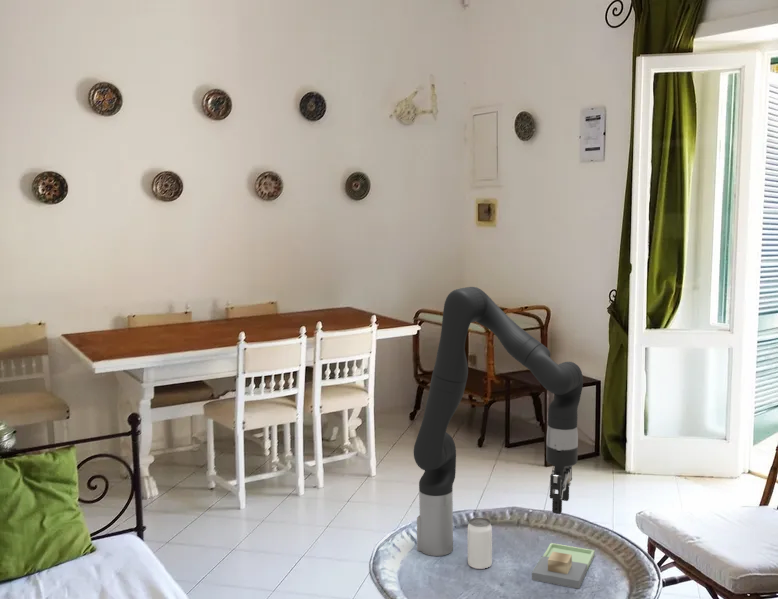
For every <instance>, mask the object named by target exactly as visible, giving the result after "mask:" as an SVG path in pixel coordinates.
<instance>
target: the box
mask: <svg viewBox="0 0 778 599" xmlns="http://www.w3.org/2000/svg"><path fill="white" fill-rule="evenodd" d="M595 551H596V550H595V549H591V548H590V549H589V548H584V547H578V546H577V547H576V546H572V545H565V544H560V543H553V542H550V544H549V545H548V547H547V548H546V550H545V552H544V553H543V556H544V557H550V555H551V554H552V552H558V553H564V554H570V555H572V561H573V562H578V563H584V564H587V571H588V570H589V568H590V566H591V564H592V562H593V560H594V557H595Z"/></svg>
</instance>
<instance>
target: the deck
mask: <svg viewBox="0 0 778 599" xmlns="http://www.w3.org/2000/svg"><path fill="white" fill-rule="evenodd" d="M548 559H549V557H544V556H541V557H540V558H539V560H538V562H537V563H536V565H535V566H534V568H533V570H532V572H531V580H532V579H533V580H532V581H535V582H541V581H542V583H546V582H547V583H548V584H552V583H553V584H552V585H559V586H563V587H567V588H574V589H580V587H581V586H582V583H583V582H584V578H585V576H586V575H587V572H588V570H587V564H584V563H578V562H573V561H572V566H571V568H570V570H569V572H568V574H563V573H558V572H553V571H548Z"/></svg>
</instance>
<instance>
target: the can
mask: <svg viewBox="0 0 778 599" xmlns="http://www.w3.org/2000/svg"><path fill="white" fill-rule="evenodd" d="M466 539H467V541H466V542H467V564H468V566H469V567H470V568H472V569H474V568H475V570H486V569H485V568H487V569H489V568H491V566H492V564H493V527H492V525H491V520H490V519H488V518H486V517H479V516H478V517H473V518H470V519H469V520H468V525H467V538H466ZM488 567H489V568H488Z"/></svg>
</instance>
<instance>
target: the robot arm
mask: <svg viewBox="0 0 778 599" xmlns="http://www.w3.org/2000/svg"><path fill="white" fill-rule="evenodd" d="M475 322H476V323H478V324H480V325H482V326H484V327H485V328H486V329H488V330H490V332H492V333H493V335H495V337H496V338H498V340H499V342H500V343H501V345H502V346H503V348H504V349H505V351H506V352H507V353H508V354H509V355H510V356H511V357H512V358H514V359H515V360H516V361H517V362H519V363H520V364H521V365H522V366H523V367H525V368H526V369H528V370H529V371H530V372H531V374H532V375H533V376H534V377H535V378H536V380H537V381H538V382H539V384H540V385H541V386H542V387H543V388H545V389H546V390H547V391H548V392H549V393H552V394H554V397H553V398H554V399H553V400H552V401H551V402H550V404H549V405H548V412H547V414H548V415H547V431H546V452H545V454H546V457H545V460H546V462H547V463H548V464H550V465H552V466H553V469H552V470H551V474H550V475H549V476H550V482H549V487H550V488H549V499H551V500H552V502H551V503H552V504H551V506H552V507H551V508H552V509H551V510H552V511H551V512H552V513H553V514H558V515H560V514H562V511H563V501H565V502H568V501H569V500H570V486H571V484H572V480H573V466H575V465H577V463H578V452H579V451H578V450H579V449H578V447H579V446H578V445H579V431H578V407H579V404H580V402H581V401H580V400H581V395H582V391H583V386H584V385H583V384H584V376H583V372H582V370H581V368H580V366H579V365H578V364H576V362H572V361H564V362H561V363H556V362H555V361H554V360H553V359H552V358H551V355H552V354H551V351H550V348H548V347H546V345H544V344H543V343H542V342H541V341H539V340H538V339H537V338H535V337H533V336H532V335H531V334H529V332H527V331H526V330H524V329H523V328H522V327H520V325H518V324H517V323H516V322H515V321H514V320H512V319H511V318H510V317H509V316H508V314H507V313H505V312H504V311H503V309H501V308H500V307H499V306H498V304H496V303H495V301H494V300H493V299H492V298H491V297H490V296H489V295H488V294H487V293H486V292H485V291H483V289H481V288H479V287H477V286H476V287H475V286H467V287H462V288H461V287H459V288H457V289H454V290H452V291H451V292H450V293H448V295H447V296H446V298H445V301H444V304H443V311H442V321H441V329H440V330H441V332H440V338H439V343H438V347H437V352H436V356H435V357H436V358H435V363H434V367H433V370H432V374H431V379H430V380H431V381H430V384H429V391H428V393H427V394H428V395H427V398H426V404H425V409H424V413H423V418H422V420H421V423H420V427H419V430H418V433H417V436H416V438H415V439H416V440H415V443H414V446H413V459H414V461H415V463H416V465H417V467H418V468H420V469H421V470H422V471H424V472H423V474H422V475H421V478H420V479H419V482H418V495H419V496H418V497H419V499H418V500H419V501H418V503H419V508H418V509H419V510H418V511H419V515H418V516H417V517H416V544H417V545H416V546H417V547H416V548H417V549H416V551H418V552H419V551H420V552H421V553H423V554H425V555H427V556H432V557H433V556H434V557H441V556H445V555H446V556H447V555H448V554H451V553H452V552H453V551H454V513H453V512H454V511H453V509H454V507H453V506H454V504H453V503H454V501H453V496H454V495H453V494H454V493H453V490H454V489H453V487H454V486H453V485H454V482H455V479H456V473H457V472H456V471H457V470H456V468H457V449H456V443H455V441H454V439H453V437H452V435H450V434H449V433H448V432H447V429H448V426H449V423H450V421H451V420H452V419H453V418H452V417H453V416H454V414H455V412H456V411H457V409H458V406H460V404H461V401H462V400H463V396H464V393H465V389H466V386H467V380H468V376H469V375H468V374H469V365H468V359H467V354H466V349H465V348H466V340H467V335H468V333H469V332H468V331H469V328H470V326H471V323H475ZM556 490H557V493H556Z"/></svg>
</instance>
